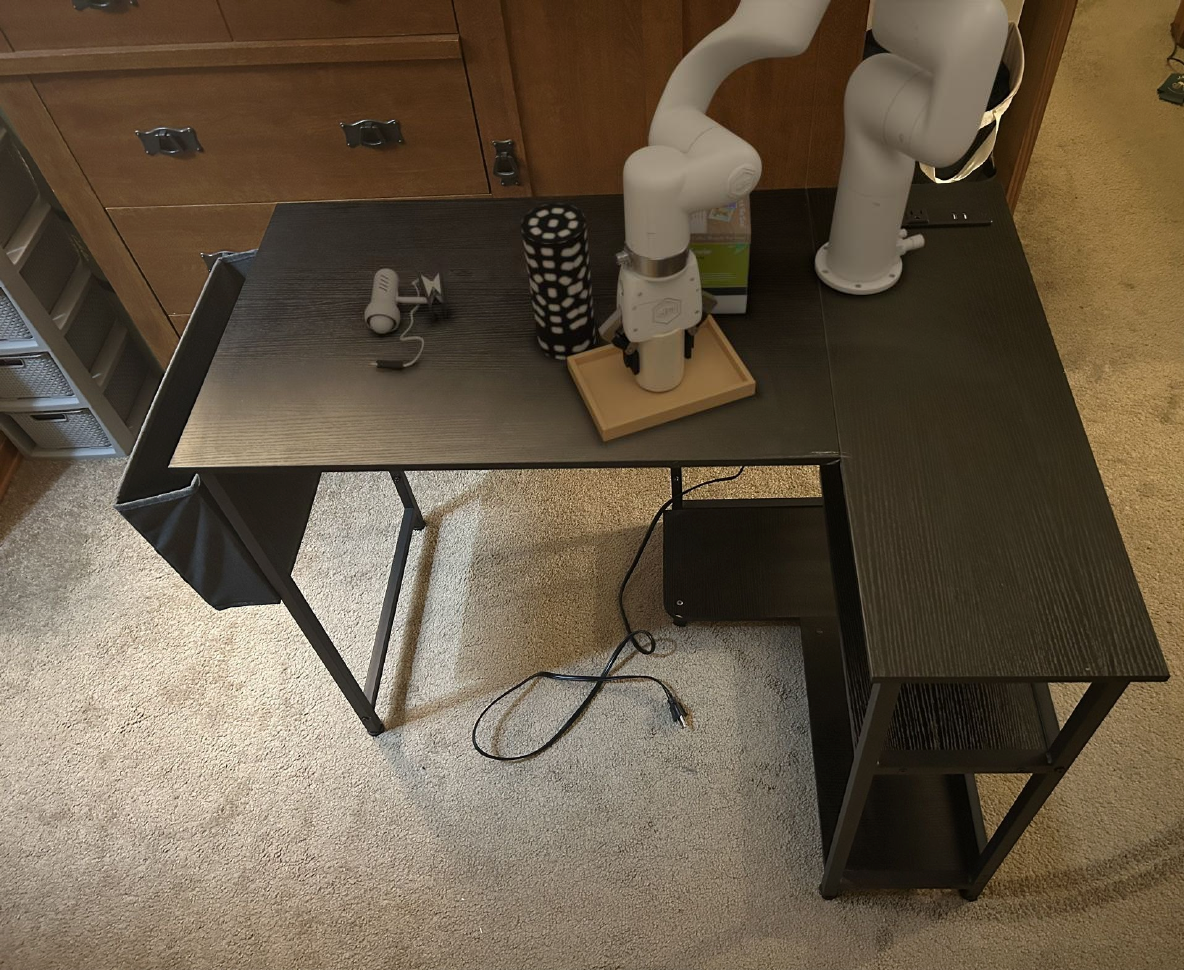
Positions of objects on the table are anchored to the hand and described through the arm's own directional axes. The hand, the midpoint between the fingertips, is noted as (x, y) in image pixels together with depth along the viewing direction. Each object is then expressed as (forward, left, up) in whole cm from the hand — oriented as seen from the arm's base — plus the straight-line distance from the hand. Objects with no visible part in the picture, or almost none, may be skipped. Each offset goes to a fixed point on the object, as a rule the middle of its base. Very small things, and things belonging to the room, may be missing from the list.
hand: (658, 359), depth 123 cm
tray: (0, 0, -4) cm, 4 cm away
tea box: (-15, -16, -4) cm, 22 cm away
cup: (0, 0, -3) cm, 3 cm away
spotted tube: (+9, -13, -4) cm, 16 cm away
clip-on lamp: (+30, -24, -4) cm, 39 cm away
